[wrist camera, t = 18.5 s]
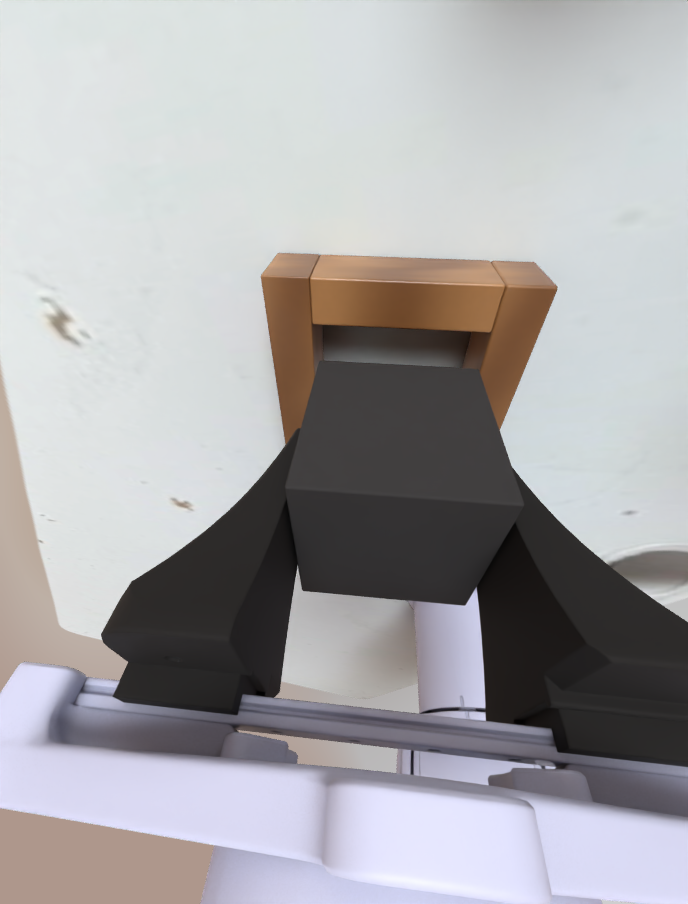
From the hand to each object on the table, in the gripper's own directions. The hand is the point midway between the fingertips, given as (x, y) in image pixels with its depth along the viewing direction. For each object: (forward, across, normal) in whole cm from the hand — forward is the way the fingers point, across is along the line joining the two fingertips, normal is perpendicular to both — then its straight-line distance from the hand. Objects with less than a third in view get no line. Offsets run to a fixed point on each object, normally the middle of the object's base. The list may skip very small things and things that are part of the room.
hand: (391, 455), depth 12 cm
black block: (+2, 0, 0) cm, 2 cm away
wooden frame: (+6, 0, +4) cm, 7 cm away
